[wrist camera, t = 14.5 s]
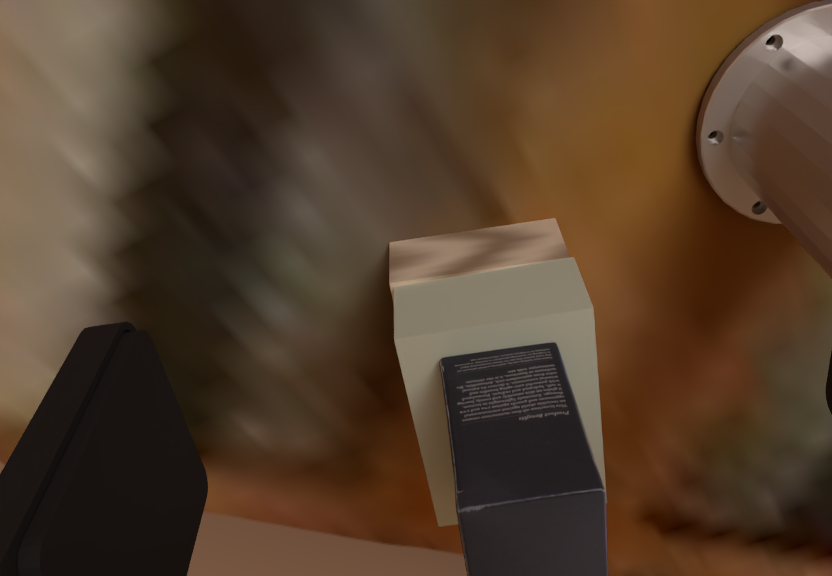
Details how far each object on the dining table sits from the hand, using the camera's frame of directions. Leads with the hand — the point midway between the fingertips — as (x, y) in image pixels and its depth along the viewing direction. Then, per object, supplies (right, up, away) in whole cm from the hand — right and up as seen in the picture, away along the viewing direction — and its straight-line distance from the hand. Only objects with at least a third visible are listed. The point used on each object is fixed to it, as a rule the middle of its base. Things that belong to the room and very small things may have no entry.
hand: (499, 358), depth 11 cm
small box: (+4, -6, +32) cm, 33 cm away
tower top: (+4, -4, +37) cm, 37 cm away
